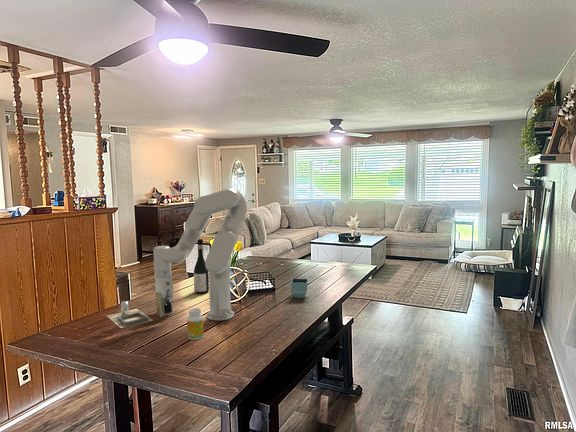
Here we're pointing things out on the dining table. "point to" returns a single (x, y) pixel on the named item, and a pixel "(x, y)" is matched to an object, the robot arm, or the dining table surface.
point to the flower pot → (299, 287)
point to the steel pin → (124, 308)
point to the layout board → (129, 318)
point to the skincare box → (161, 305)
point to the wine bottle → (201, 272)
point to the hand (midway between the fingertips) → (164, 310)
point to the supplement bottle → (195, 324)
